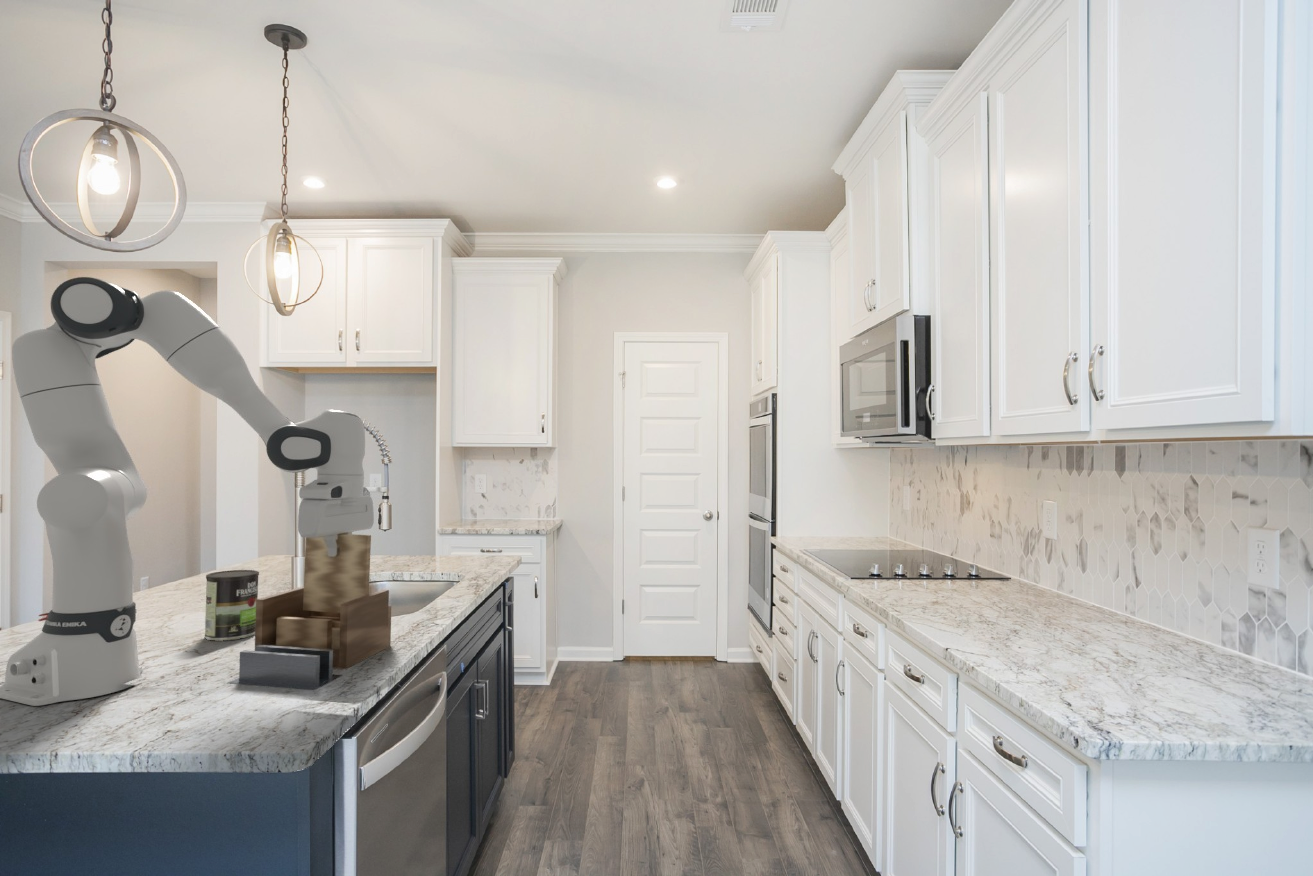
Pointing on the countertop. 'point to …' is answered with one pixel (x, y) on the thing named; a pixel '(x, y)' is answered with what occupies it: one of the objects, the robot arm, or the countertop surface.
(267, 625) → the board rack
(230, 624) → the coffee can
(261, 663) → the stand
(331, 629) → the small boards
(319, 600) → the cutting board
